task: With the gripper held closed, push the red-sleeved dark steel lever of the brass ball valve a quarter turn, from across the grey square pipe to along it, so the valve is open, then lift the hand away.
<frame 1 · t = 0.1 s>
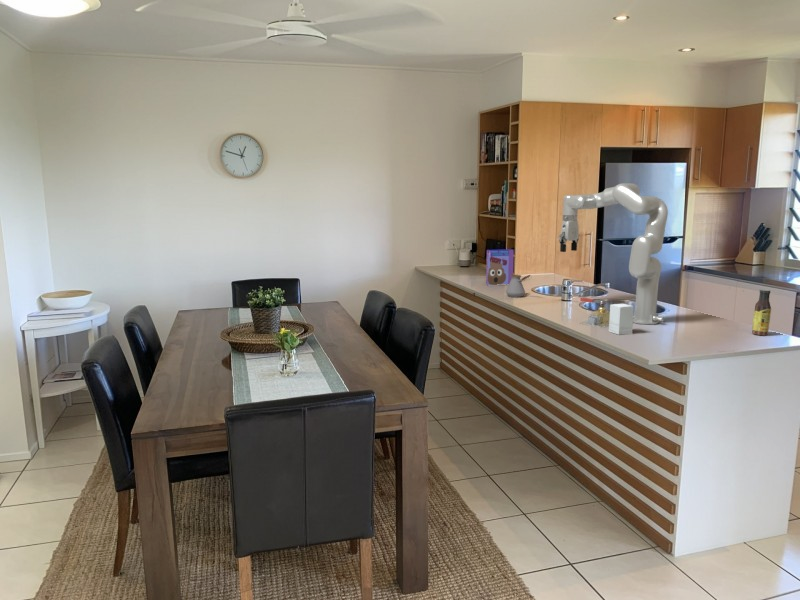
hand: (568, 251, 319), 31 cm above the table, fingers open, 9 cm apart
sauce bottle: (759, 334, 265), on the table
coffee pot: (519, 298, 359), on the table
cereal box: (499, 285, 408), on the table
lever: (593, 302, 292), point 9 cm above the table, hinge at 0.0°
supplement box: (620, 333, 269), on the table
valve: (601, 322, 290), on the table
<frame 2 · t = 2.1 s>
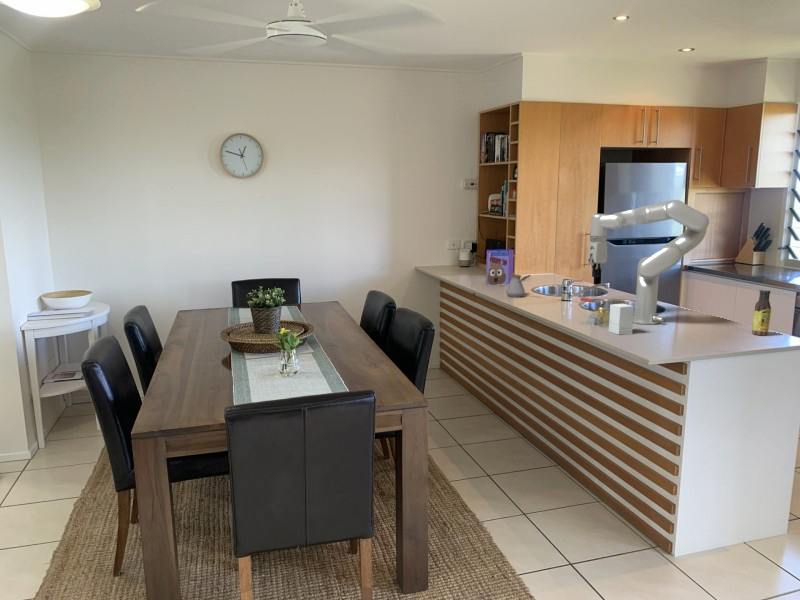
hand: (596, 276, 295), 21 cm above the table, fingers closed
nothing on the table moved.
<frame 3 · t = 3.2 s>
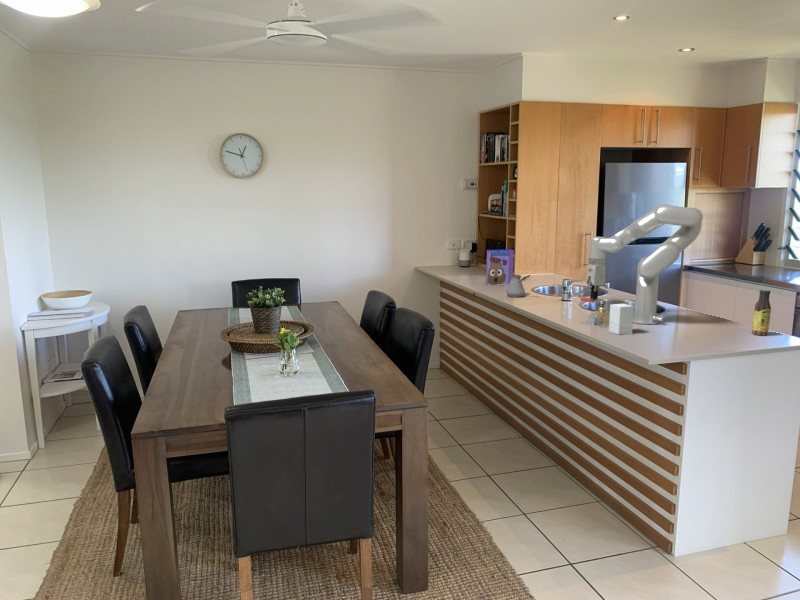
hand: (593, 298, 297), 10 cm above the table, fingers closed
nothing on the table moved.
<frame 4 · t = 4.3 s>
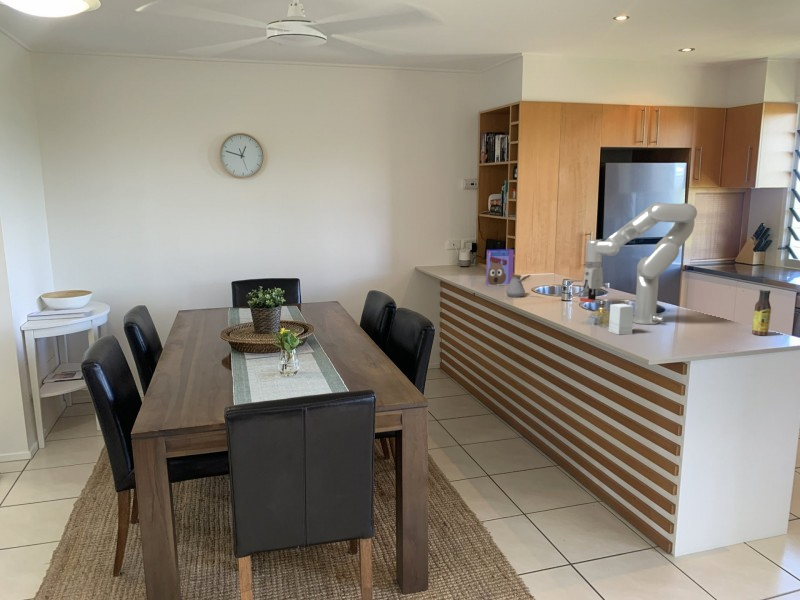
hand: (591, 302, 296), 9 cm above the table, fingers closed
lever: (592, 302, 292), point 9 cm above the table, hinge at 2.1°, touching gripper
everything else where it was.
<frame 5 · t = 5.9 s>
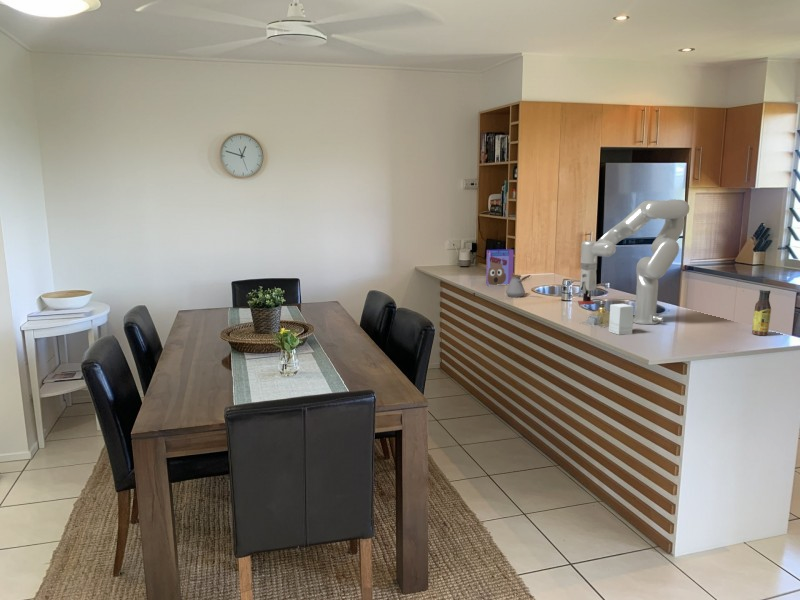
hand: (586, 304, 291), 9 cm above the table, fingers closed
lever: (591, 303, 288), point 9 cm above the table, hinge at 51.5°, touching gripper
everything else where it was.
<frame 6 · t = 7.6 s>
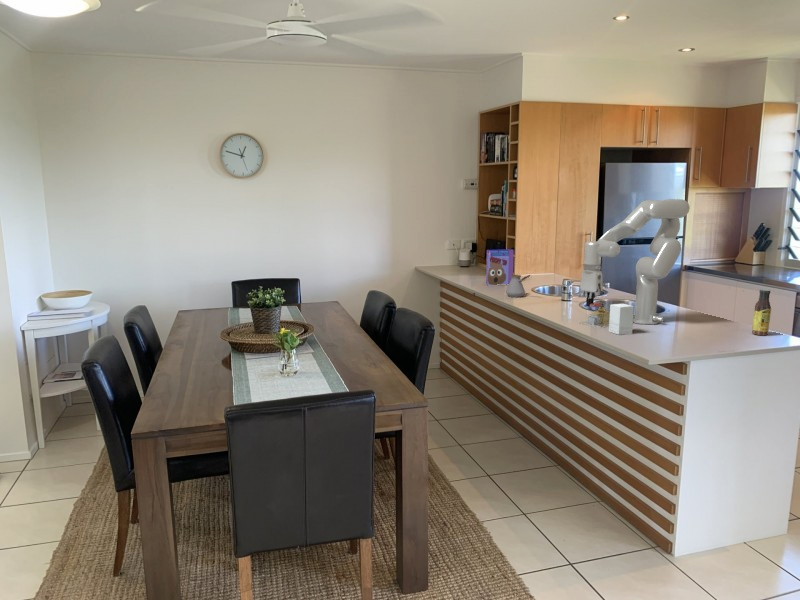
hand: (589, 306, 285), 9 cm above the table, fingers closed
lever: (597, 305, 284), point 9 cm above the table, hinge at 98.2°, touching gripper
everything else where it was.
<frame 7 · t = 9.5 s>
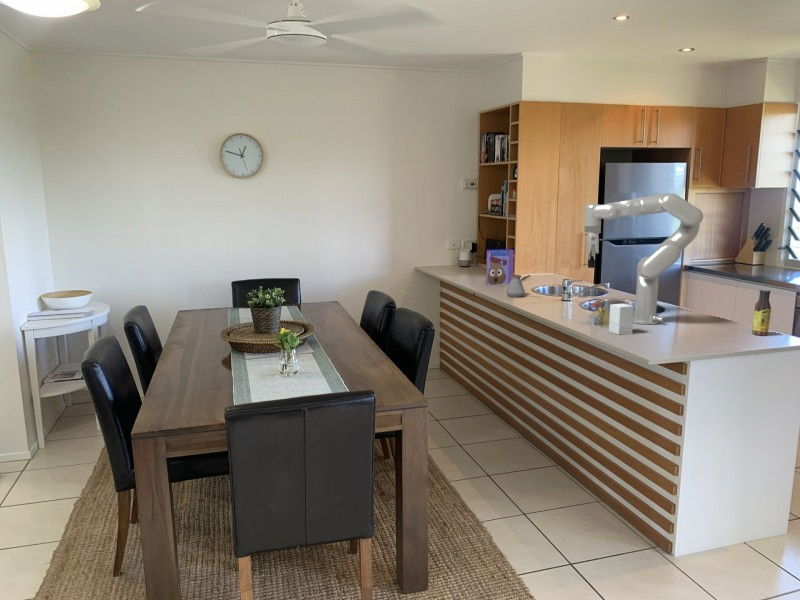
hand: (591, 267, 293), 26 cm above the table, fingers closed
lever: (597, 305, 284), point 9 cm above the table, hinge at 98.0°
everything else where it was.
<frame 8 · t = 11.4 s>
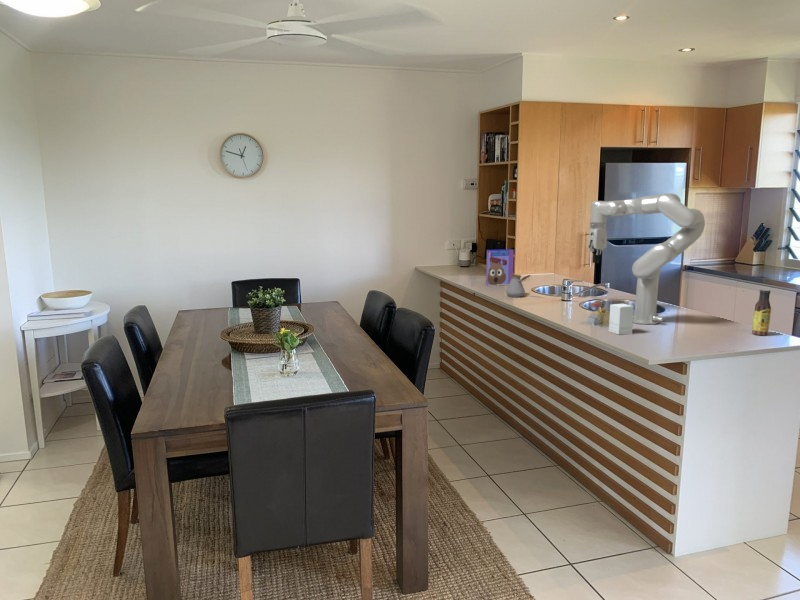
hand: (596, 262, 302), 27 cm above the table, fingers closed
nothing on the table moved.
at the end: lever at +98° (first picture: +0°); lever touching nothing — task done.
